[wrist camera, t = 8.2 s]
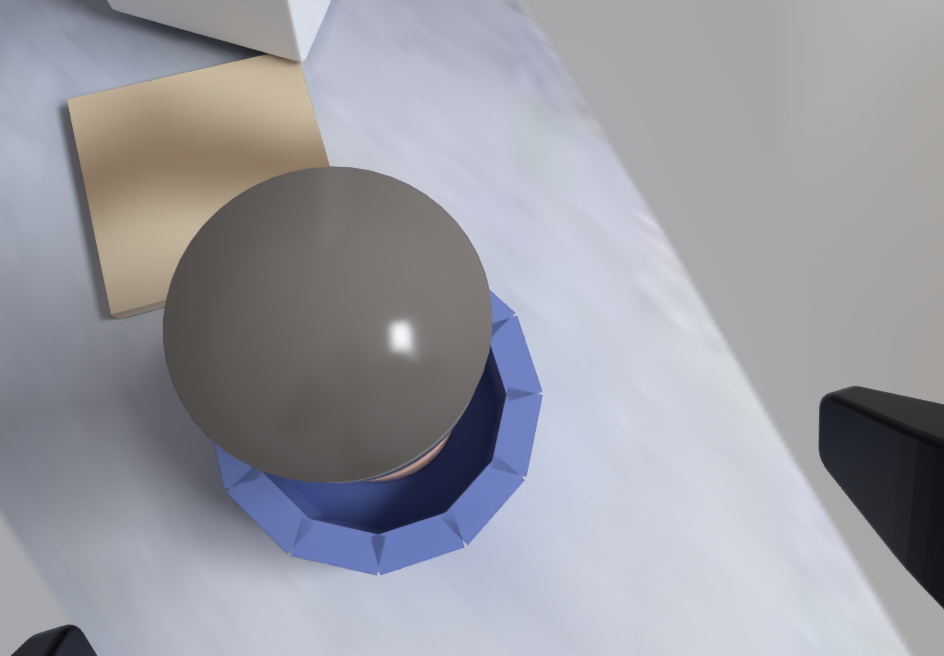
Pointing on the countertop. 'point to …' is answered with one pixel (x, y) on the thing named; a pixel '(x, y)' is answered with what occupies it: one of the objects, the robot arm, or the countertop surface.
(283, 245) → the spice jar
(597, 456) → the countertop surface
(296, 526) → the bowl
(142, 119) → the cork mat
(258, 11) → the milk carton
